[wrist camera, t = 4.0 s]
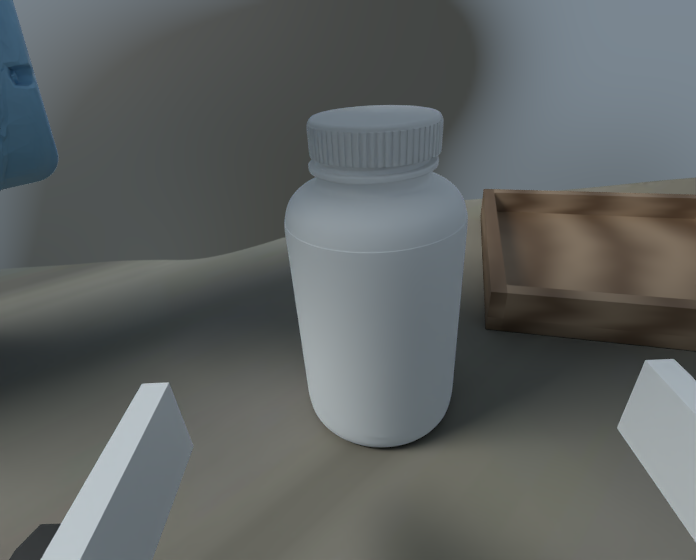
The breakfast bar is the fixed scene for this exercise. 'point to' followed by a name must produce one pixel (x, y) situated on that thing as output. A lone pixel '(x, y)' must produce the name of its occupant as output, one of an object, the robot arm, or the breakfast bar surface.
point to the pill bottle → (377, 272)
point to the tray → (591, 265)
